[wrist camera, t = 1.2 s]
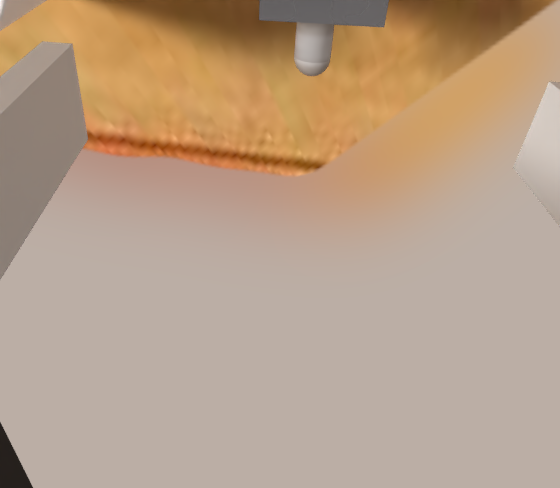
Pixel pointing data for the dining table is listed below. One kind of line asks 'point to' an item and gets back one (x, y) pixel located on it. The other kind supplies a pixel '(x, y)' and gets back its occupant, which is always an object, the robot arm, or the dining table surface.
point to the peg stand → (313, 47)
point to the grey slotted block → (326, 11)
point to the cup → (15, 10)
